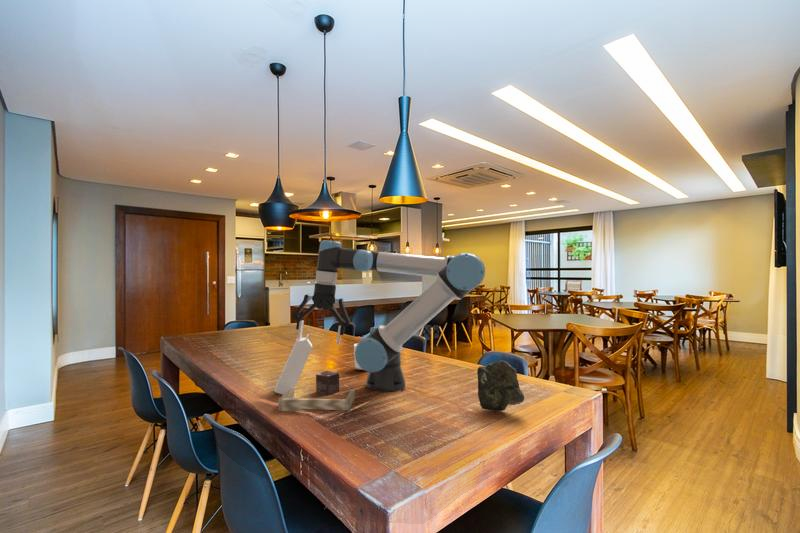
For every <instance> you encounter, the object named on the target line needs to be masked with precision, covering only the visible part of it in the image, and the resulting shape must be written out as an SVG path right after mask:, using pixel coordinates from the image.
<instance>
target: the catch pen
mask: <svg viewBox="0 0 800 533" xmlns="http://www.w3.org/2000/svg"><path fill="white" fill-rule="evenodd" d="M355 400H356V388H352V389H351V390H350V391H349V393H348V394H347V396H346V398H295V388H290V389H289V390H288V391H287V392H286V393H285V394H284V395H282V396H281V397H279V398H278V404H277V405H278V411H279V412H298V413H299V412H301V413H303V412H305V413H311V411H310V410H324V411H325V410H330V411H341V414H349V413H350V412H351V410H352V408H351V407H352V405H353V403H354V401H355Z"/></svg>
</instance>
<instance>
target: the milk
mask: <svg viewBox="0 0 800 533" xmlns="http://www.w3.org/2000/svg"><path fill="white" fill-rule="evenodd" d="M312 349H313V344H312V342H311V341H310V340H309V333H307V335H306V336H305V337H302V339H300V340H298V337H297V338H296V340H295V342H294V345H293V346H292V349H291V352H290V353H289V356H288V358H287V360H286V362H285V365H284V366H283V369H282V371H281V373H280V376H279V378H278V380H277V382H276V384H275V388H274V393H276V394H280V395H282V396H283V395H284V394H285V393H286V392H287V391H288V390H289V389H290V388H294V389H295V388H296V386H297V383H298V381H299V379H300V378H301V377H300V376H301V374H302V371H303V369H304V367H305V365H306V363H307V361H308V359H309V356H310V354H311V352H312Z"/></svg>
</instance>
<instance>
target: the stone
mask: <svg viewBox="0 0 800 533" xmlns="http://www.w3.org/2000/svg"><path fill="white" fill-rule="evenodd" d="M476 373H477V397H478V401H479V406H480V407H481V409H482V410H487V411H494V412H497V411H498V412H499V411H500V412H502V411H505V410H506V408H507V407H508V406H516V405H520V404H521V403H523V402H524V401H525V395H524V393H523V392H522V389H521V388H520V384H519V380H518V372H517V369H516V368H515V367H514V366H512V365H511V364H510V363H509V362H508V361H506V360H503V359H502V360H499V361H494V362H492V363H488V364H487V365H483V366H482V365H481V366H479V367H478V368H477V372H476Z"/></svg>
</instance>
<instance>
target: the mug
mask: <svg viewBox="0 0 800 533" xmlns="http://www.w3.org/2000/svg"><path fill="white" fill-rule="evenodd" d="M358 343H359V342H357V343H354V344H353V351H354V352H353V356H354V368H355V369H356V370H361V371H362V370H363V369H362V368H361V367H360V366H359V365H358V363H357V361H356V359H355V349H356V346H357V345H358ZM363 371H364V370H363Z"/></svg>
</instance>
